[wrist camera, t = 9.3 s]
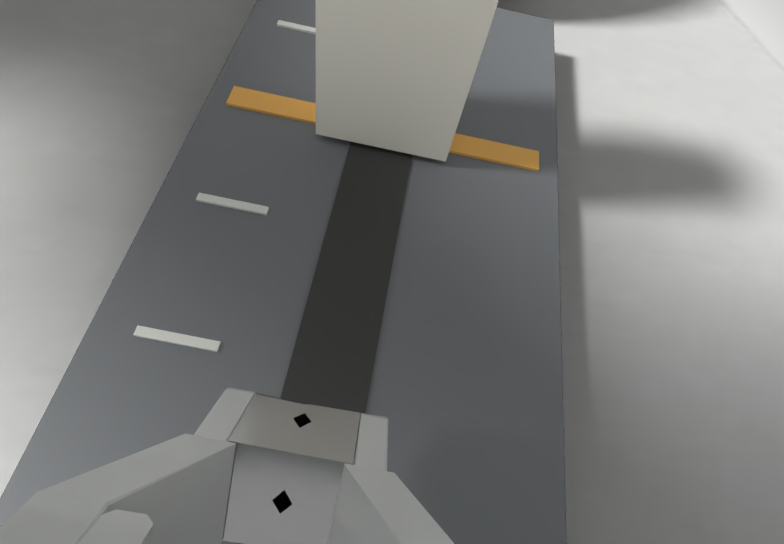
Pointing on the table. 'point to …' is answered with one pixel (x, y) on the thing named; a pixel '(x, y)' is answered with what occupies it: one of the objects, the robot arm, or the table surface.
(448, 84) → the fader tab
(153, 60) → the table surface
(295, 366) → the console board
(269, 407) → the robot arm
